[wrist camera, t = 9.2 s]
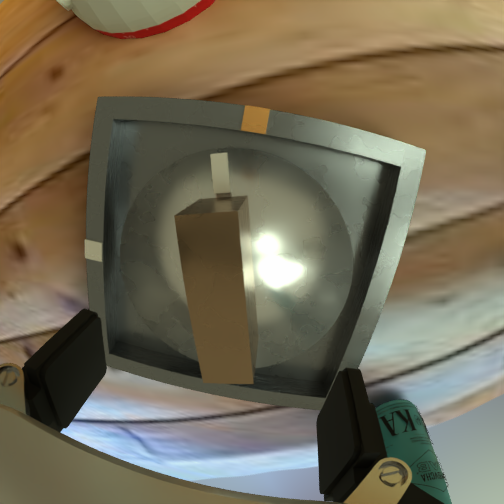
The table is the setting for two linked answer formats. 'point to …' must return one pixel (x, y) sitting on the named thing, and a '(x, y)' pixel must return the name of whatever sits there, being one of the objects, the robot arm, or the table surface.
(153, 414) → the table surface
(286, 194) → the dial
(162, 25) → the kitchen timer
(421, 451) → the beverage bottle
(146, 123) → the dial housing
